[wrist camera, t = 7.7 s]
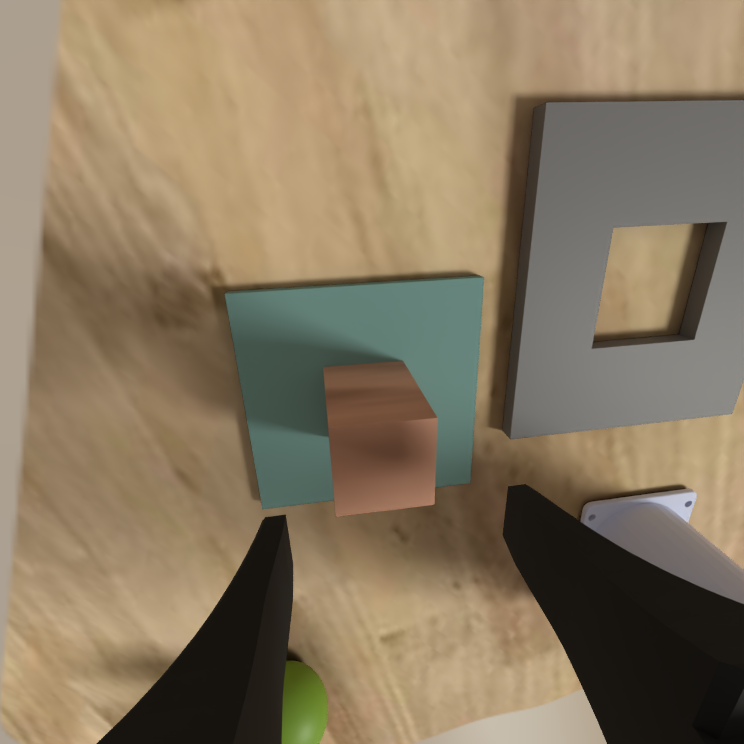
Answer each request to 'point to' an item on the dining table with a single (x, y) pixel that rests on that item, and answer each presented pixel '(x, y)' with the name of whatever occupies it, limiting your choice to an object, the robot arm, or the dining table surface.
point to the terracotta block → (379, 438)
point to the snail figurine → (303, 705)
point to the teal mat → (349, 347)
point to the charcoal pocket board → (590, 254)
